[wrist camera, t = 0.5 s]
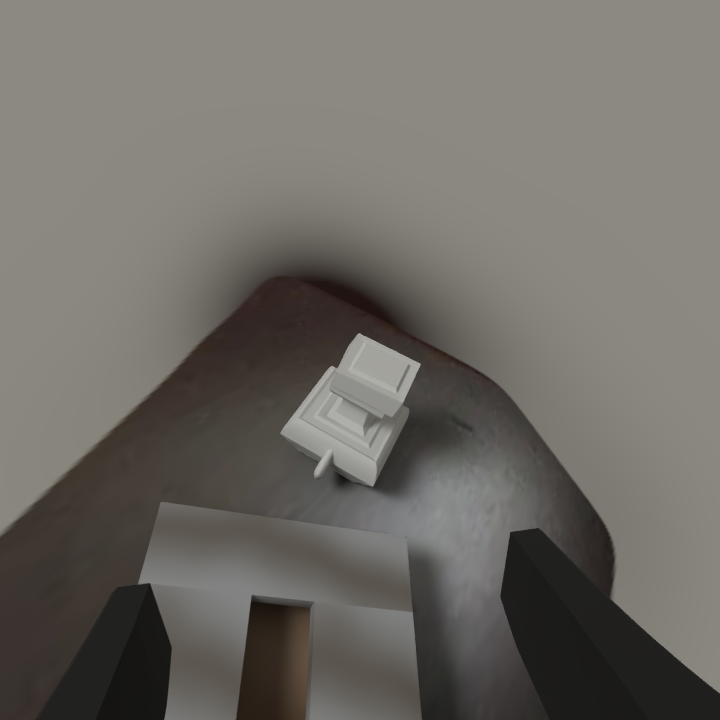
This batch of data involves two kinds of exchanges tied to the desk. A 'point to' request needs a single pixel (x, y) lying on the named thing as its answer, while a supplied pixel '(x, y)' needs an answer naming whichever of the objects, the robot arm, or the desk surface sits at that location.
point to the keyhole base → (282, 618)
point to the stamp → (355, 412)
